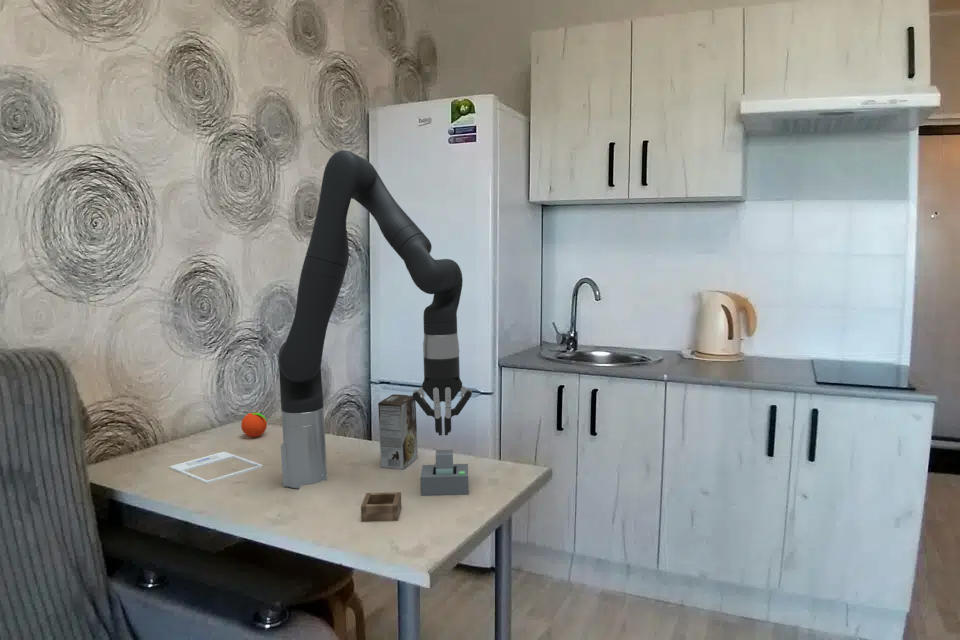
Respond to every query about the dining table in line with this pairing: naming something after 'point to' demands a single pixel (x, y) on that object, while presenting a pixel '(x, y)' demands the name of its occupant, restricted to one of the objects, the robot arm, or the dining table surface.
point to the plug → (444, 462)
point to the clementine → (254, 424)
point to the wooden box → (381, 507)
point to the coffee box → (398, 431)
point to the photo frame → (210, 460)
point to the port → (444, 481)
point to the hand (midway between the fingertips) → (443, 434)
